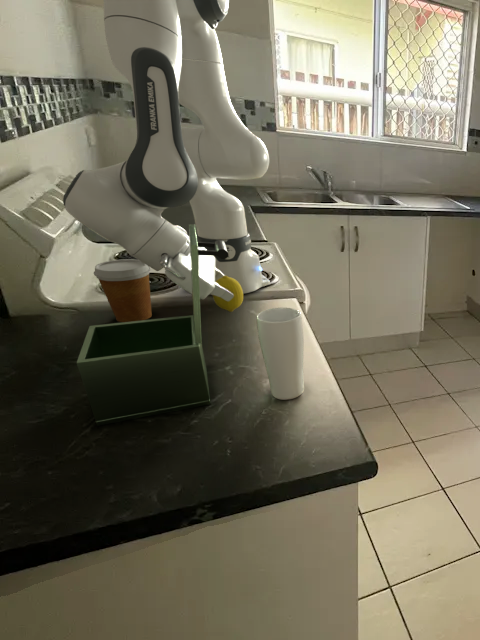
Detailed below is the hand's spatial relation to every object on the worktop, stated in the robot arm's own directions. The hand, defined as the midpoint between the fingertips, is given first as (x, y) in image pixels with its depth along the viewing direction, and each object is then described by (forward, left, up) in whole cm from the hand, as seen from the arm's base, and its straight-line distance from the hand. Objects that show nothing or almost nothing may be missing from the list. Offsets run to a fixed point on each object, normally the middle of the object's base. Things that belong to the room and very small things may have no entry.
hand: (231, 291), depth 99 cm
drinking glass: (+29, +5, -10) cm, 31 cm away
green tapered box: (+21, -14, -9) cm, 27 cm away
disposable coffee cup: (-16, -19, -10) cm, 26 cm away
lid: (+21, -6, +10) cm, 24 cm away
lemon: (0, -1, -5) cm, 5 cm away
